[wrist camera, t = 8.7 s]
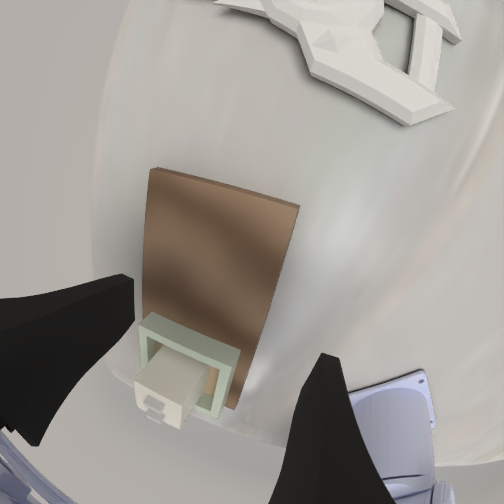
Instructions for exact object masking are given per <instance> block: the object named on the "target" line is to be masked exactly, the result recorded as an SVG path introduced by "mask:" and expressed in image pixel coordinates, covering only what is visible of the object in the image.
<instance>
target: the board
mask: <svg viewBox="0 0 504 504" xmlns="http://www.w3.org/2000/svg"><path fill="white" fill-rule="evenodd" d="M299 207H300V205H297V204H293V203H290V202H287V201H284V200H280V199H277V198H274V197H270V196H267V195H263V194H260V193H256V192H253V191H249V190H246V189H242V188H239V187H235V186H231V185H228V184H224V183H220V182H216V181H212V180H209V179H205V178H201V177H197V176H193V175H189V174H185V173H180V172H176V171H172V170H168V169H163V168H159V167H158V168H153V169H150V173H149V182H148V191H147V202H146V214H145V228H144V246H143V278H142V308H143V319H144V318H146V317H147V316H148V315H149V314H150V313H151V312H154V313H156V314H158V315H160V316H163V317H165V318H167V319H169V320H171V321H173V322H175V323H178V324H180V325H182V326H184V327H187V328H189V329H191V330H193V331H196V332H198V333H200V334H203V335H205V336H207V337H210V338H212V339H215V340H217V341H220V342H222V343H225V344H227V345H230V346H232V347H235V348H237V349H240V350H241V351H240V355H239V358H238V362H237V365H236V369H235V372H234V376H233V379H232V383H231V386H230V390H229V393H228V397H227V400H226V403H225V407H228V408H230V409H233V410H234V409H235V407H236V405H237V403H238V400H239V397H240V395H241V392H242V389H243V386H244V383H245V380H246V377H247V374H248V372H249V369H250V366H251V363H252V360H253V357H254V354H255V351H256V348H257V345H258V342H259V339H260V336H261V333H262V329H263V326H264V323H265V320H266V317H267V314H268V311H269V308H270V305H271V301H272V298H273V295H274V292H275V289H276V285H277V282H278V279H279V276H280V272H281V269H282V266H283V262H284V259H285V256H286V252H287V249H288V246H289V242H290V239H291V235H292V232H293V229H294V225H295V222H296V218H297V215H298V211H299Z"/></svg>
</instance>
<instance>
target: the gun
mask: <svg viewBox="0 0 504 504" xmlns="http://www.w3.org/2000/svg"><path fill="white" fill-rule="evenodd" d="M213 3H214V4H215V5H220V6H224V7H229V8H233V9H237V10H241V11H245V12H249V13H252V14H256V15H259V16H262V17H266V18H269V19H270V21H271V23H272V24H274V25H276V26H277V27H279V28H281V29H282V30H284V31H286V32H287V33H289V34H290V35H292V36H294V37H295V38H297V39H298V41H299V43H300V46H301V49H302V52H303V54H304V57H305V60H306V63H307V66H308V69H309V72H310V74H311V76H312V77H314V78H317V79H319V80H321V81H323V82H325V83H328V84H330V85H332V86H334V87H336V88H338V89H340V90H342V91H344V92H346V93H348V94H350V95H352V96H354V97H356V98H358V99H359V100H361V101H363V102H365V103H367V104H369V105H370V106H372V107H374V108H376V109H377V110H379V111H381V112H382V113H384V114H386V115H387V116H389V117H391V118H392V119H394V120H396V121H397V122H399V123H400V124H402V125H403V126H411V125H413V124H416V123H418V122H421V121H424V120H426V119H429V118H432V117H434V116H437V115H440V114H442V113H445V112H448V111H451V110H453V109H456V108H454V107H453V106H452V105H451V104H449V103H448V102H447V101H445V100H444V99H443V98H441V97H440V96H439V95H437V94H436V93H434V91H435V86H436V80H437V74H438V68H439V61H440V53H441V45H442V36H443V37H444V38H446V39H447V40H448V41H450V42H451V43H453V44H454V45H456V44H458V43H459V42H461V41H462V39H461V36H460V33H459V30H458V27H457V24H456V21H455V18H454V15H453V13H452V10H451V7H450V6H449V5H448V4H446V3H445V2H443V1H442V0H217V1H215V2H213ZM384 3H386V4H388V5H390V6H392V7H394V8H396V9H398V10H400V11H402V12H404V13H405V14H407V15H409V16H411V17H413V18H414V29H413V37H412V45H411V53H410V59H409V66H408V72H407V74H406V73H404V72H403V71H401V70H399V69H398V68H396V67H394V66H393V65H391V64H389V63H387V62H386V61H384V60H383V57H382V55H381V52H380V50H379V48H378V45H377V43H376V41H375V39H374V36H373V34H372V33H373V32H374V30H375V29H376V27H377V25H378V24H379V22H380V21H381V19H382V17H383V15H384Z"/></svg>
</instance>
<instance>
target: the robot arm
mask: <svg viewBox="0 0 504 504" xmlns="http://www.w3.org/2000/svg"><path fill="white" fill-rule="evenodd" d="M134 321H135V310H134V279H132V278H130V277H128V276H126V275H124V274H118V275H113V276H109V277H106V278H102V279H98V280H95V281H91V282H88V283H84V284H81V285H77V286H73V287H70V288H66V289H61V290H57V291H53V292H49V293H45V294H39V295H34V296H27V297H20V298H4V299H0V453H1V454H2V456H3V457H4V458H5V459H6V460H7V461H8V463H9V464H10V465H11V466H12V467H13V468H14V469H15V470H16V471H17V472H16V471H15V470H14V469H13V468H12V467H11V466H10V465H9V464H8V463H6V462H5V461H4V460H3V459H2V458H1V457H0V504H41V503H40V502H38V501H37V500H36V499H35V498H34V497H33V496H32V495H30V494H29V493H30V492H31V488H30V486H31V487H32V488H33V489H34V490H35V491H36V492H38V493H39V494H40V495H41V496H42V497H43V498H44V499H45V500H46V501H47V502H48V503H50V504H77V503H76V502H74V501H73V500H72V499H70V498H69V497H68V496H66V495H65V494H64V493H63V492H62V491H61V490H59V489H58V488H57V487H56V486H55V485H53V484H52V483H51V482H50V481H49V480H48V479H47V478H46V477H44V476H43V475H42V474H41V473H40V472H39V471H38V470H37V469H36V468H35V467H34V466H33V465H32V464H31V463H30V462H29V461H28V460H27V459H26V458H25V457H24V456H23V455H22V454H21V453H20V452H19V451H18V450H17V448H16V447H15V446H14V445H13V444H12V443H11V442H10V440H9V439H8V438H7V437H6V436H5V435H4V433H3V432H2V431H1V429H2V428H3V427H4V426H5V427H6V428H7V429H8V430H9V432H11V433H12V432H13V431H14V430H15V429H16V431H17V432H18V433H19V434H20V435H21V436H22V437H23V438H24V439H25V440H26V441H27V442H28V443H29V444H30V445H31V446H35V447H36V446H39V444H40V442H41V440H42V438H43V436H44V434H45V432H46V430H47V428H48V426H49V424H50V422H51V420H52V419H53V417H54V415H55V414H56V412H57V411H58V409H59V407H60V406H61V404H62V403H63V402H64V400H65V399H66V397H67V396H68V394H69V393H70V392H71V390H72V389H73V388H74V386H75V385H76V384H77V382H78V381H79V380H80V379H81V378H82V377H83V375H84V374H85V373H86V372H87V371H88V370H89V369H90V368H91V367H92V366H93V365H94V364H95V363H96V362H97V361H98V360H99V359H100V358H101V357H102V356H104V355H105V354H106V353H107V352H108V351H109V350H110V349H111V348H112V347H113V346H114V345H115V344H116V343H117V342H118V341H119V340H120V339H121V338H122V336H123V335H124V334H125V333H126V331H127V330H128V329H129V327H130V326H131V325H132V323H133V322H134ZM421 379H422V380H421ZM435 426H436V421H435V416H434V410H433V405H432V400H431V396H430V391H429V387H428V382H427V378H426V374H425V372H424V371H417V372H415V373H412V374H409V375H407V376H404V377H401V378H398V379H395V380H392V381H389V382H386V383H383V384H380V385H377V386H374V387H370V388H367V389H363V390H360V391H356V392H353V393H349V394H348V391H347V387H346V384H345V380H344V376H343V372H342V367H341V363H340V360H339V358H338V357H334V356H331V355H328V354H324V353H321V355H320V357H319V358H318V360H317V362H316V364H315V366H314V368H313V369H312V371H311V373H310V375H309V377H308V378H307V380H306V382H305V384H304V385H303V387H302V389H301V392H300V395H299V398H298V401H297V404H296V408H295V411H294V414H293V419H292V424H291V429H290V433H289V438H288V443H287V447H286V452H285V456H284V461H283V465H282V469H281V472H280V475H279V478H278V481H277V483H276V486H275V489H274V491H273V494H272V496H271V499H270V501H269V503H268V504H455V497H454V490H453V487H452V485H451V484H449V483H446V481H440V482H438V483H437V482H436V480H435V462H434V450H433V440H432V431H431V429H432V428H434V427H435ZM27 483H28V484H29V485H30V486H29V485H28V484H27Z"/></svg>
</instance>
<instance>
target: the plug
mask: <svg viewBox="0 0 504 504" xmlns="http://www.w3.org/2000/svg"><path fill="white" fill-rule="evenodd" d="M210 369H211V366H210V365H208V364H205V363H203V362H201V361H198V360H196V359H194V358H192V357H189V356H187V355H185V354H183V353H181V352H179V351H176V350H174V349H172V348H170V347H168V346H166V345H163V346H162V347H161V349H160V350H159V351H158V352H157V353H156V354H155V355H154V357H153V358H152V359H151V360H150V361H149V362H148V364H147V365H146V366H145V367H144V368H143V369H142V370H141V372H140V373H139V374H138V375H137V376H136V377H135V379H134V380H133V382H134V389H135V395H136V402H137V406H138V407H139V408H140V409H142V410H144V411H146V412H145V417H147V418H149V419H151V420H153V421H154V422H156V423H158V424H160V425H161V424H162V422H163V421H164V422H166V423H168V424H170V425H172V426H174V427H176V428H178V429H181V427H182V426H183V424H184V422H185V421H186V419H187V418H188V416H189V414H190V413H191V411H192V409H193V408H194V406H195V405H196V403H197V401H198V400H199V398H200V396H201V395H202V393H203V391H204V390H205V388H206V386H207V384H208V379H209V374H210Z"/></svg>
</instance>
